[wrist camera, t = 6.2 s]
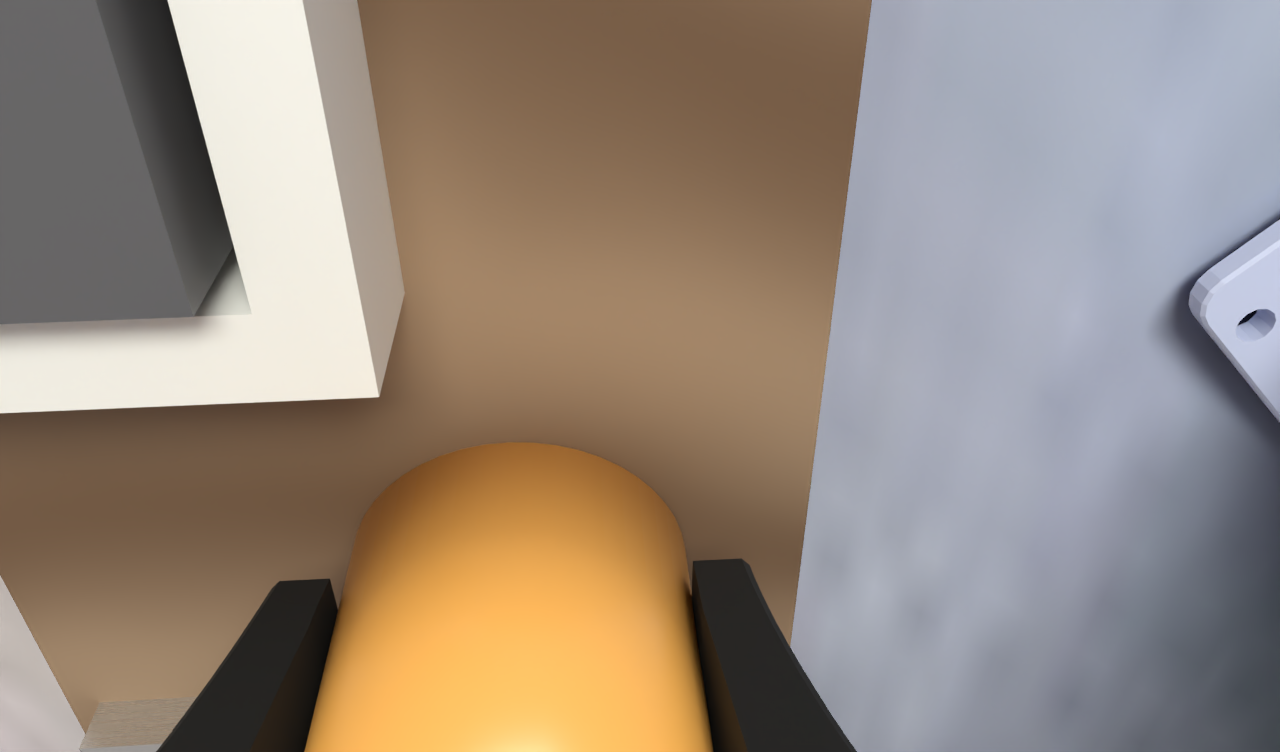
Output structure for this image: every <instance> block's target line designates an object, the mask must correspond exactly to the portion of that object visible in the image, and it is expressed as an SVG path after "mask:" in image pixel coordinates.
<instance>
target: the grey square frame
mask: <svg viewBox="0 0 1280 752" xmlns="http://www.w3.org/2000/svg"><path fill="white" fill-rule="evenodd" d="M196 698H197V697H185V698H168V699H150V700H133V701H115V702H100V703H99V705H98V707H97V710H96V712H95V714H94V716H93V719H92V721H91V723H90V725H89V728H88V730H87V732H86V734H85V737H84V739H83V741H82V743H81V746H80V748H79V750H80V751H81V752H156V751H157V750H158V749H159V747H160V746H161V745H162V743H163V742H164V741H165V740H166V738H167V737H168V736H169V734H170V733H171V732H172V730H173V729H174V728H175V726H176V725H177V724H178V722H179V721H180V720H181V718H182V717H183V716H184V714H185V713H186V711H187V710H188V709H189V707H190V706H191V705H192V703H193V702H194V701H195V699H196Z"/></svg>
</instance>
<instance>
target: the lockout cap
mask: <svg viewBox="0 0 1280 752" xmlns="http://www.w3.org/2000/svg"><path fill="white" fill-rule="evenodd" d="M691 594H692V593H691V586H690V579H689V572H688V565H687V557H686V550H685V545H684V541H683V537H682V533H681V530H680V528H679V526H678V524H677V521H676V519H675V517H674V515H673V514H672V512H671V511H670V509H669V508H668V507H667V505H666V504H665V502H664V501H663V500H662V499H661V498H660V497H659V496H658V495H657V494H656V492H655V491H654V490H653V489H652V488H650V487H649V486H648V485H647V484H645V483H644V482H643V481H642V480H641V479H639V478H638V477H637V476H635V475H633V474H632V473H630V472H629V471H627V470H625V469H624V468H622V467H620V466H618V465H616V464H614V463H612V462H610V461H608V460H605V459H603V458H601V457H598V456H595V455H592V454H589V453H586V452H583V451H580V450H576V449H572V448H567V447H562V446H558V445H550V444H541V443H523V442H507V443H497V444H486V445H480V446H475V447H470V448H465V449H461V450H458V451H454V452H451V453H448V454H445V455H442V456H439V457H437V458H434V459H432V460H430V461H428V462H425V463H423V464H421V465H419V466H417V467H416V468H414V469H412V470H411V471H409V472H407V473H406V474H404V475H402V476H401V477H400V478H398V479H397V480H396V481H395V482H393V483H392V484H391V485H390V486H388V487H387V488H386V489H385V490H384V491H383V492H382V493H381V494H380V495H379V497H378V498H377V499H376V500H375V501H374V502H373V503H372V505H371V506H370V508H369V509H368V511H367V512H366V514H365V515H364V517H363V519H362V521H361V524H360V526H359V528H358V531H357V534H356V538H355V542H354V546H353V550H352V554H351V559H350V563H349V567H348V571H347V575H346V580H345V584H344V588H343V592H342V596H341V600H340V605H339V609H338V613H337V617H336V621H335V626H334V630H333V634H332V638H331V642H330V647H329V651H328V655H327V659H326V663H325V667H324V672H323V676H322V680H321V684H320V688H319V693H318V697H317V701H316V705H315V709H314V714H313V718H312V722H311V726H310V730H309V734H308V739H307V743H306V747H305V751H304V752H713V745H712V738H711V730H710V723H709V716H708V709H707V702H706V694H705V687H704V680H703V674H702V668H701V662H700V655H699V648H698V641H697V633H696V626H695V619H694V612H693V604H692V597H691Z"/></svg>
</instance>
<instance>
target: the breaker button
mask: <svg viewBox="0 0 1280 752" xmlns="http://www.w3.org/2000/svg"><path fill="white" fill-rule="evenodd" d="M232 248H233V242H232V238H231V235H230V231H229V227H228V223H227V220H226V216H225V212H224V209H223V205H222V201H221V197H220V194H219V190H218V186H217V183H216V179H215V175H214V171H213V168H212V164H211V160H210V157H209V153H208V149H207V145H206V142H205V138H204V134H203V131H202V127H201V123H200V119H199V116H198V112H197V108H196V105H195V101H194V97H193V93H192V90H191V86H190V82H189V79H188V75H187V71H186V67H185V64H184V60H183V56H182V53H181V49H180V45H179V41H178V38H177V34H176V30H175V26H174V23H173V19H172V15H171V12H170V8H169V4H168V0H0V324H20V323H47V322H73V321H99V320H126V319H152V318H179V317H194V315H195V313H196V312H197V310H198V308H199V306H200V305H201V303H202V301H203V299H204V297H205V296H206V294H207V292H208V290H209V289H210V287H211V285H212V283H213V281H214V280H215V278H216V276H217V274H218V273H219V271H220V269H221V267H222V265H223V264H224V262H225V260H226V258H227V257H228V255H229V253H230V251H231V250H232Z"/></svg>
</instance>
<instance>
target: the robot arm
mask: <svg viewBox="0 0 1280 752" xmlns="http://www.w3.org/2000/svg"><path fill="white" fill-rule="evenodd" d="M1189 307H1190V309H1191V312H1192V314H1193V315H1194V317H1195V318H1196V319H1197V320H1198V322H1199V323H1200V324H1201V325H1202V327H1203V328H1204V329H1205V330H1206V332H1207V333H1208V334H1209V335H1210V337H1211V338H1212V339H1213V340H1214V342H1215V343H1216V344H1217V345H1218V347H1219V348H1220V349H1221V350H1222V352H1223V353H1224V354H1225V355H1226V357H1227V358H1228V359H1229V360H1230V362H1231V363H1232V364H1233V365H1234V367H1235V368H1236V369H1237V370H1238V372H1239V373H1240V374H1241V375H1242V377H1243V378H1244V379H1245V380H1246V382H1247V383H1248V384H1249V385H1250V387H1251V388H1252V389H1253V390H1254V392H1255V393H1256V394H1257V395H1258V397H1259V398H1260V399H1261V400H1262V402H1263V403H1264V404H1265V405H1266V406H1267V408H1268V409H1269V410H1270V411H1271V413H1272V414H1273V415H1274V416H1275V418H1276V419H1277V420H1278V421H1279V423H1280V220H1278V221H1277V222H1275V223H1274V224H1273V225H1271V226H1270V227H1268V228H1267V229H1265V230H1264V231H1263V232H1261V233H1260V234H1258V235H1257V236H1256V237H1254V238H1253V239H1251V240H1250V241H1248V242H1247V243H1246V244H1244V245H1243V246H1241V247H1240V248H1239V249H1237V250H1236V251H1234V252H1233V253H1231V254H1230V255H1229V256H1227V257H1226V258H1224V259H1223V260H1222V261H1220V262H1219V263H1217V264H1216V265H1214V266H1213V267H1212V268H1210V269H1209V270H1208V271H1207V272H1206V273H1204V274H1203V275H1202V276H1201V277H1200V278H1199V279H1198V280H1197V282H1196V283H1195V285H1194V287H1193V288H1192V290H1191V292H1190V297H1189ZM1257 309H1258V310H1257ZM1255 310H1257V312H1256V314H1255V315H1254V316H1253V317H1252V318H1251V319H1250V320H1249V321H1247V322H1245V323H1243V324H1241V325H1239V326H1238V324H1239V322H1240V321H1241V320H1242V319H1243V318H1244V317H1245V316H1246V315H1247V314H1249V313H1251V312H1253V311H1255ZM691 597H692V604H693V612H694V619H695V626H696V633H697V641H698V648H699V655H700V662H701V668H702V674H703V680H704V687H705V694H706V702H707V709H708V716H709V723H710V730H711V738H712V745H713V752H857V751H856V750H855V749H854V747H853V746H852V744H851V743H850V742H849V740H848V739H847V737H846V736H845V734H844V733H843V731H842V730H841V728H840V727H839V725H838V724H837V722H836V721H835V719H834V718H833V716H832V715H831V713H830V712H829V710H828V709H827V707H826V706H825V704H824V702H823V701H822V699H821V698H820V696H819V694H818V693H817V691H816V690H815V688H814V686H813V685H812V683H811V681H810V680H809V678H808V677H807V675H806V673H805V672H804V670H803V669H802V667H801V665H800V664H799V662H798V660H797V658H796V657H795V655H794V653H793V652H792V650H791V648H790V646H789V644H788V643H787V641H786V639H785V637H784V635H783V633H782V632H781V630H780V628H779V626H778V624H777V623H776V621H775V619H774V617H773V615H772V613H771V611H770V609H769V607H768V605H767V603H766V601H765V599H764V597H763V595H762V592H761V590H760V588H759V586H758V584H757V582H756V579H755V577H754V575H753V572H752V570H751V567H750V565H749V564H748V563H747V562H745V561H744V560H743V559H742V558H740V559H720V560H699V561H693V568H692V594H691ZM337 613H338V608H337V604H336V600H335V596H334V592H333V589H332V585H331V581H330V579H310V580H290V581H279V582H278V583H277V584H276V585H275V586H274V587H273V588H272V589H271V590H270V592H269V593H268V595H267V597H266V598H265V600H264V601H263V603H262V604H261V606H260V607H259V609H258V610H257V612H256V613H255V615H254V616H253V618H252V619H251V621H250V622H249V624H248V625H247V627H246V628H245V630H244V631H243V633H242V634H241V636H240V637H239V639H238V640H237V642H236V643H235V644H234V646H233V647H232V649H231V650H230V652H229V653H228V655H227V656H226V657H225V659H224V660H223V662H222V663H221V665H220V666H219V667H218V669H217V670H216V672H215V673H214V675H213V676H212V677H211V679H210V680H209V682H208V683H207V684H206V686H205V687H204V688H203V690H202V691H201V693H200V694H199V695H198V697H197V698H196V699H195V701H194V702H193V703H192V705H191V706H190V707H189V709H188V710H187V711H186V713H185V714H184V716H183V717H182V718H181V720H180V721H179V722H178V724H177V725H176V726H175V728H174V729H173V730H172V732H171V733H170V734H169V736H168V737H167V738H166V740H165V741H164V742H163V743H162V745H161V746H160V747H159V749H158V750H157V751H156V752H304V751H305V747H306V743H307V739H308V734H309V730H310V726H311V722H312V718H313V714H314V709H315V705H316V701H317V697H318V693H319V688H320V684H321V680H322V676H323V672H324V667H325V663H326V659H327V655H328V651H329V647H330V642H331V638H332V634H333V630H334V626H335V621H336V617H337Z"/></svg>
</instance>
